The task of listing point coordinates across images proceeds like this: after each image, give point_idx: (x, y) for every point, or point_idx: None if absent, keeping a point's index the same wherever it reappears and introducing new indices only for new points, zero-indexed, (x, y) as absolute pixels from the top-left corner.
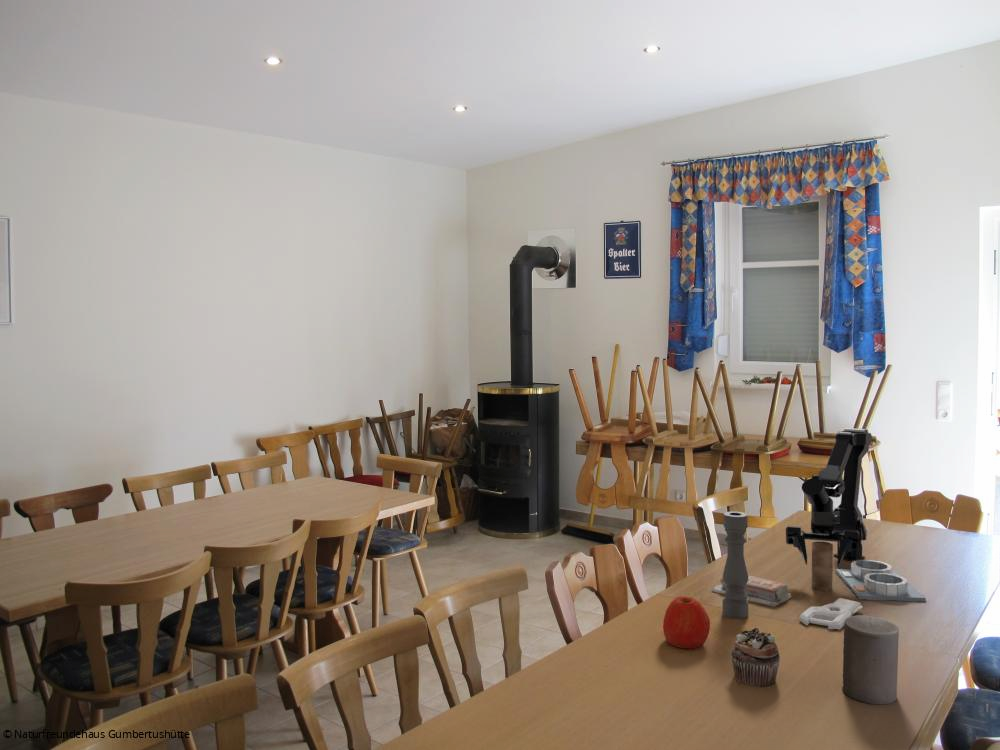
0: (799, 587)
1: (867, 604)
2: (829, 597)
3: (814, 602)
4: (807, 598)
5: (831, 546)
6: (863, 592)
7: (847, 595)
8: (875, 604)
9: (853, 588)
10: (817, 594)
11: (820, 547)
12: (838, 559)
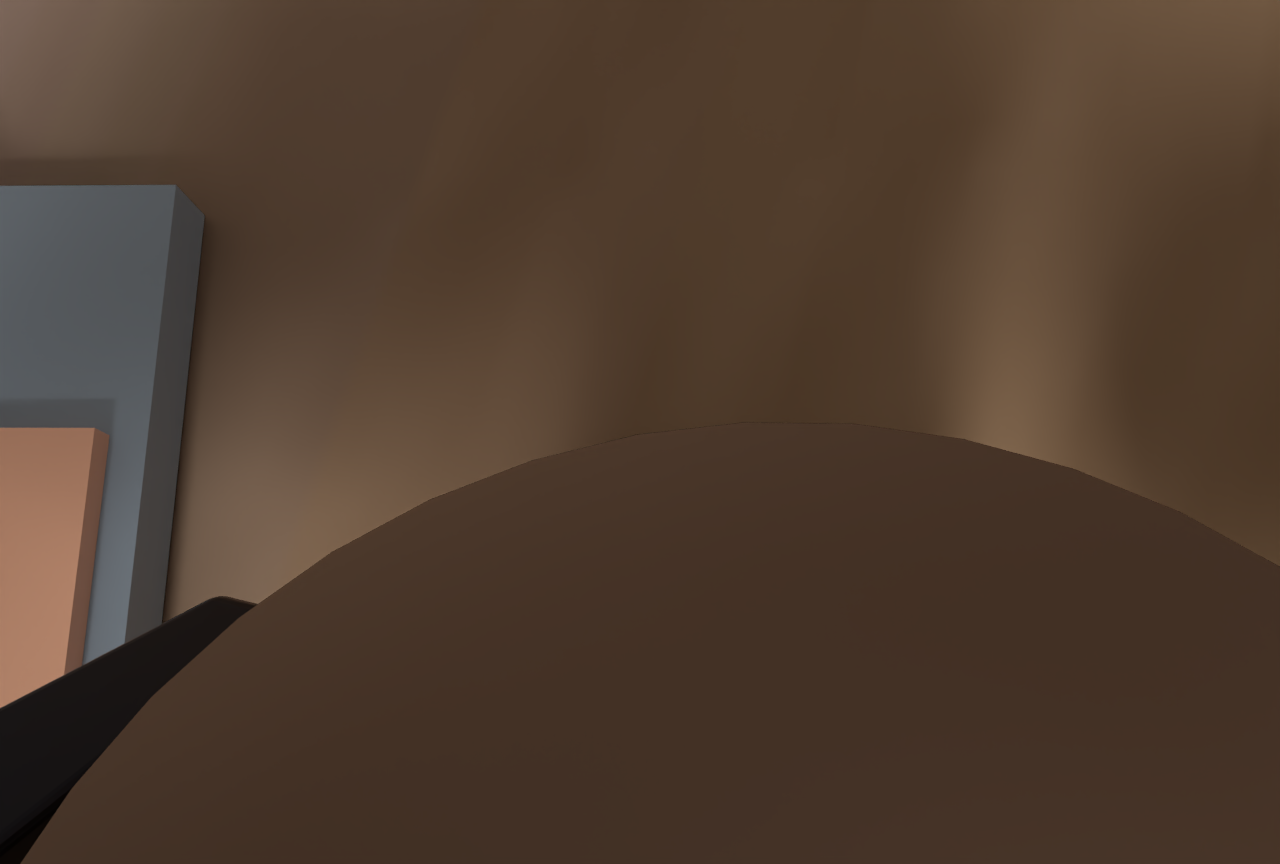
0: None
1: (166, 7)
2: (701, 284)
3: (1021, 9)
4: (1112, 193)
5: (172, 695)
6: (22, 381)
7: (336, 427)
8: (36, 20)
9: (118, 622)
10: None
11: (1095, 504)
12: (114, 715)
